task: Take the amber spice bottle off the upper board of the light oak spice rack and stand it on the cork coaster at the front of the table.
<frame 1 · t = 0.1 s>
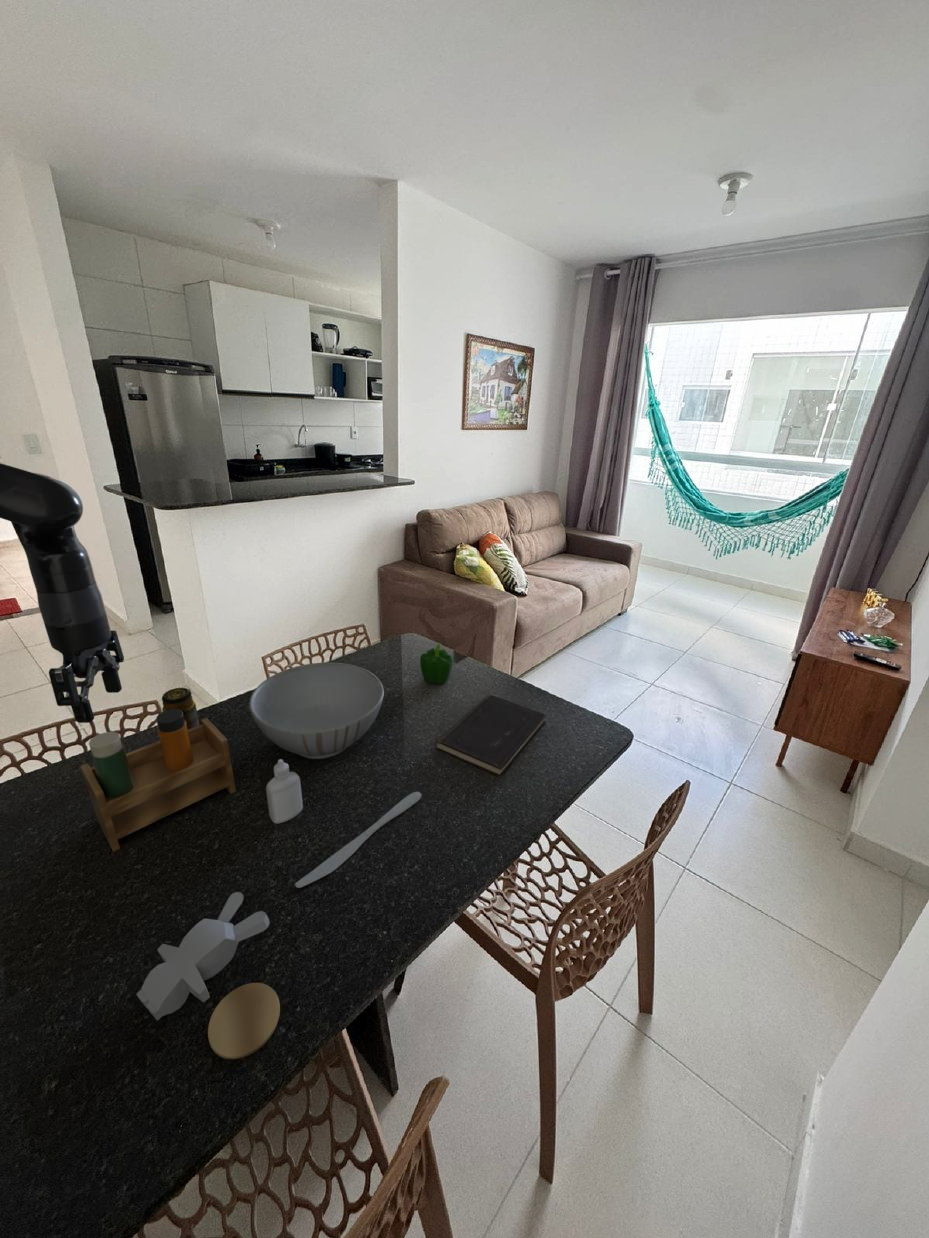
hand: (100, 705, 82), 22 cm above the table, tool pointing down, fingers open, 8 cm apart
decorative bowl: (322, 741, 111), on the table
eye dropper bottle: (287, 814, 92), on the table
bell pepper: (436, 681, 137), on the table
spice rack: (170, 805, 92), on the table
bunny figurine: (207, 965, 67), on the table
hardcover book: (492, 735, 116), on the table
condiment: (188, 744, 108), on the table
cork coaster: (245, 1019, 62), on the table
green spice bottle: (118, 788, 84), point 8 cm above the table, touching spice rack
amber spice bottle: (179, 762, 91), point 8 cm above the table, touching spice rack
butter knife: (365, 837, 88), on the table
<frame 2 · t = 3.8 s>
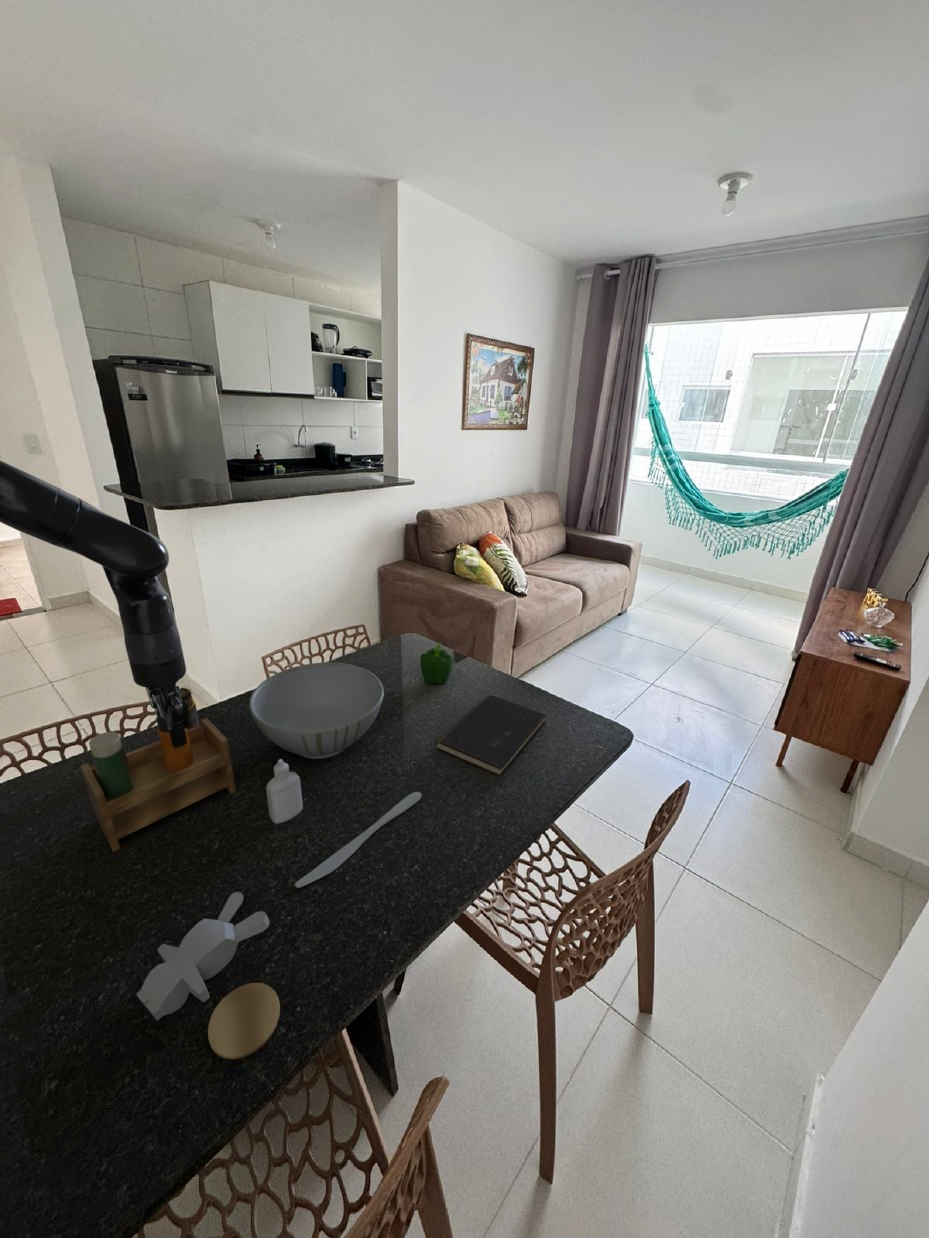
hand: (174, 738, 89), 13 cm above the table, tool pointing down, fingers closed on amber spice bottle, 4 cm apart
amber spice bottle: (179, 762, 91), point 8 cm above the table, touching gripper, spice rack
everything else where it was.
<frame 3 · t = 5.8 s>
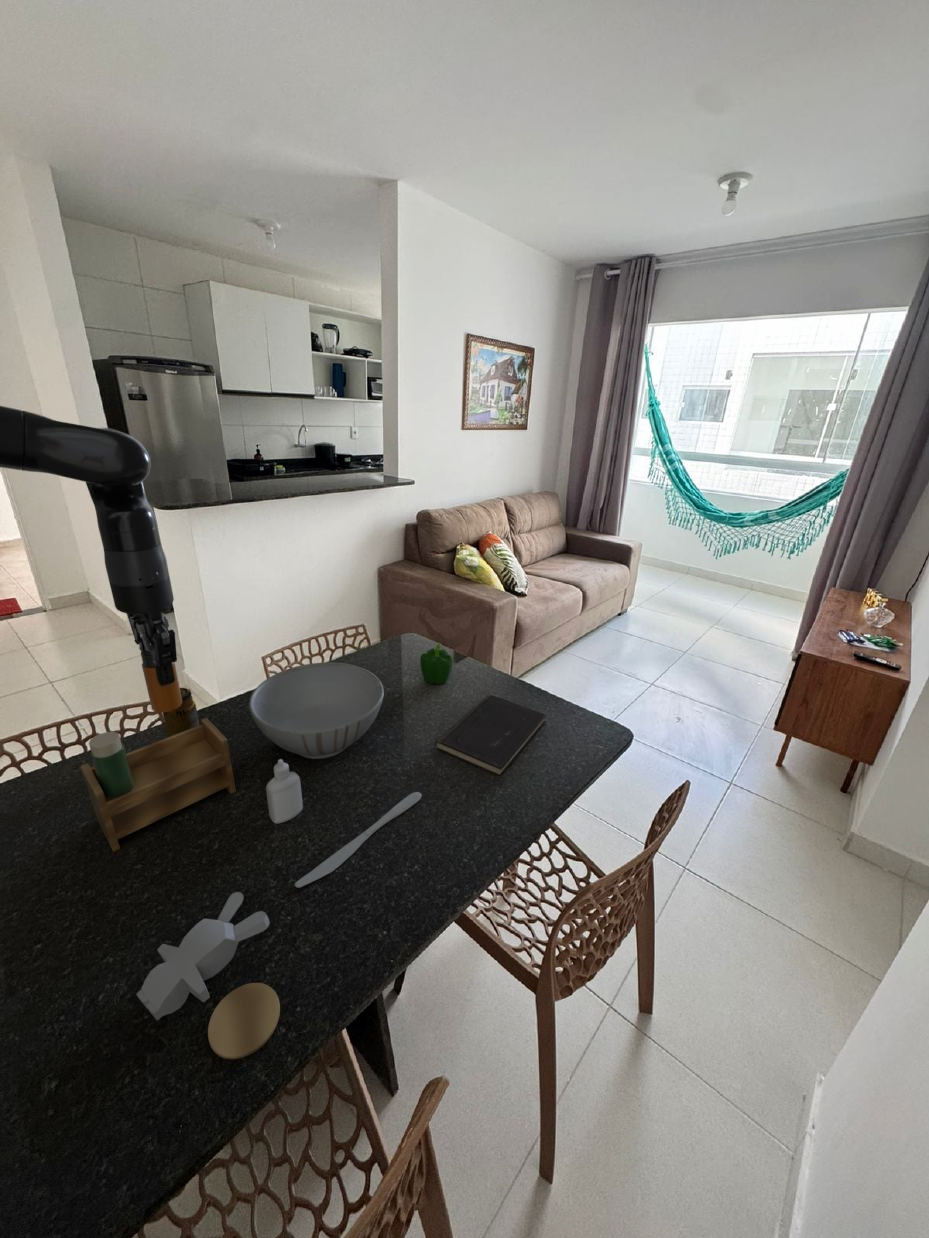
hand: (161, 676, 81), 27 cm above the table, tool pointing down, fingers closed on amber spice bottle, 4 cm apart
amber spice bottle: (167, 705, 83), point 22 cm above the table, touching gripper
everything else where it was.
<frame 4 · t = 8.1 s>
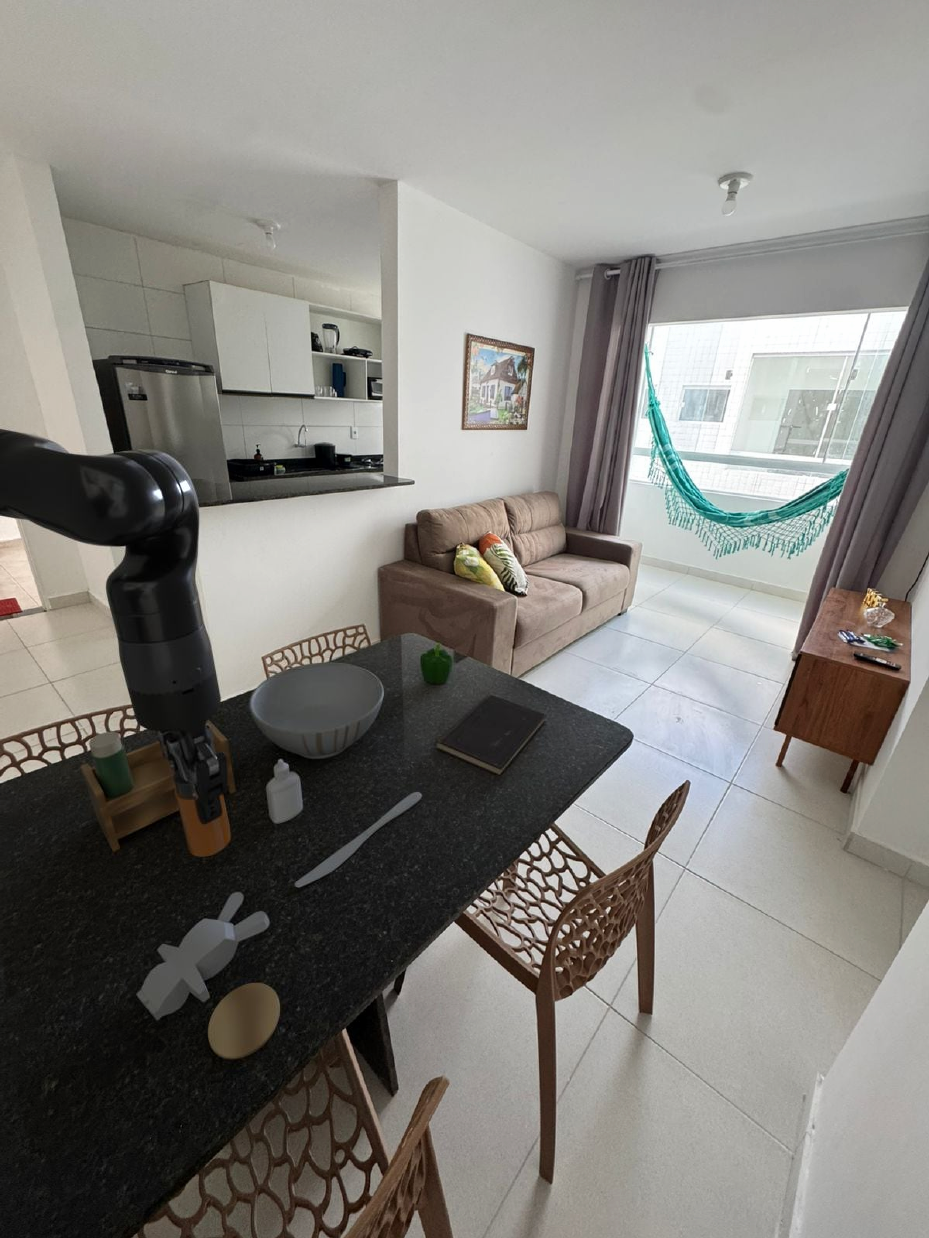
hand: (201, 805, 56), 28 cm above the table, tool pointing down, fingers closed on amber spice bottle, 4 cm apart
amber spice bottle: (210, 841, 58), point 23 cm above the table, touching gripper
everything else where it was.
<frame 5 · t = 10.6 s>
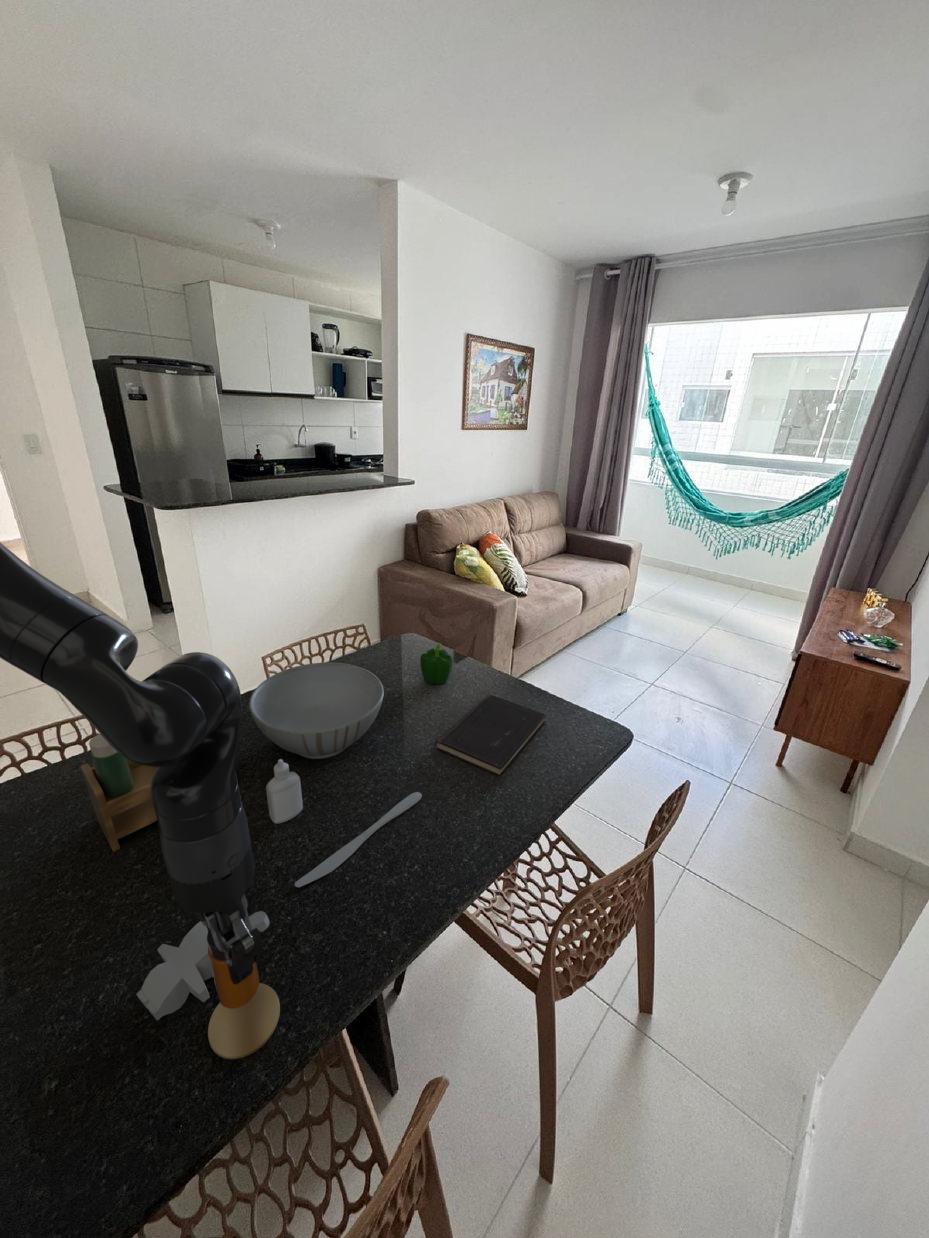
hand: (232, 959, 57), 11 cm above the table, tool pointing down, fingers closed on amber spice bottle, 4 cm apart
amber spice bottle: (239, 988, 59), point 6 cm above the table, touching gripper
everything else where it was.
when the fingers open (6 cm above the table, at t = 12.4 s): amber spice bottle stays where it is, resting on cork coaster.
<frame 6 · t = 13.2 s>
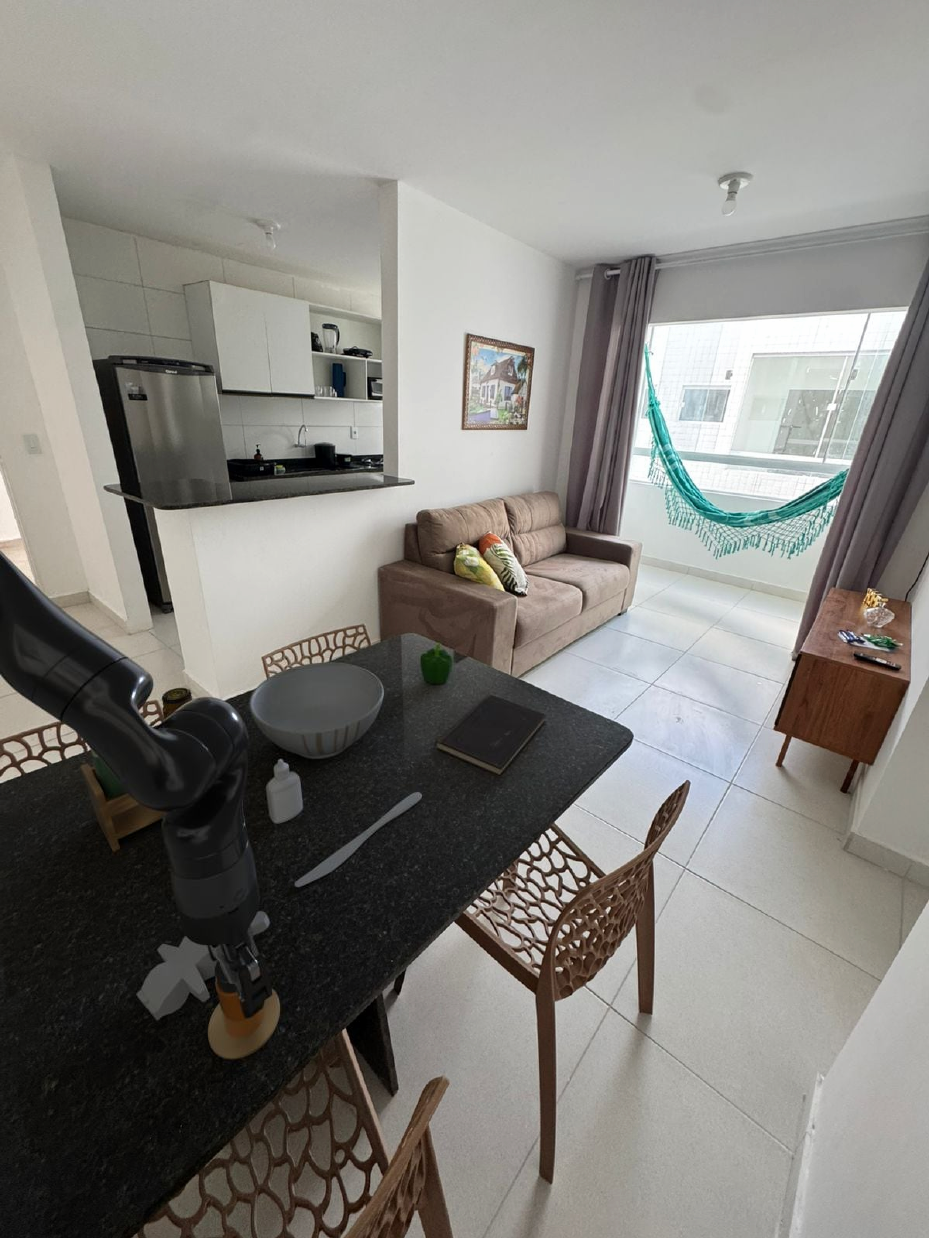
hand: (236, 981, 59), 7 cm above the table, tool pointing down, fingers open, 8 cm apart
amber spice bottle: (245, 1016, 62), resting on cork coaster
everything else where it was.
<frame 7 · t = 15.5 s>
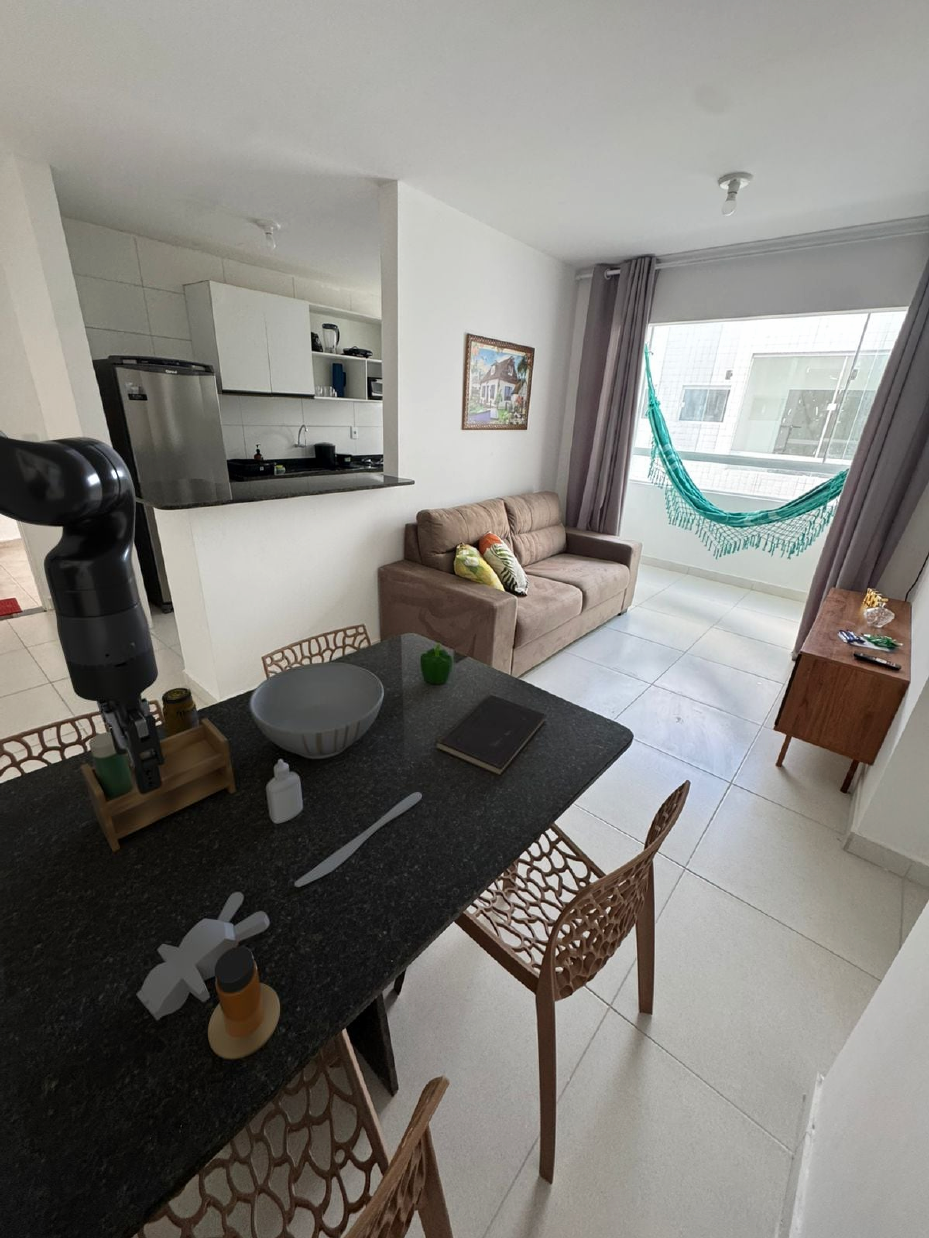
hand: (138, 769, 59), 29 cm above the table, tool pointing down, fingers open, 8 cm apart
nothing on the table moved.
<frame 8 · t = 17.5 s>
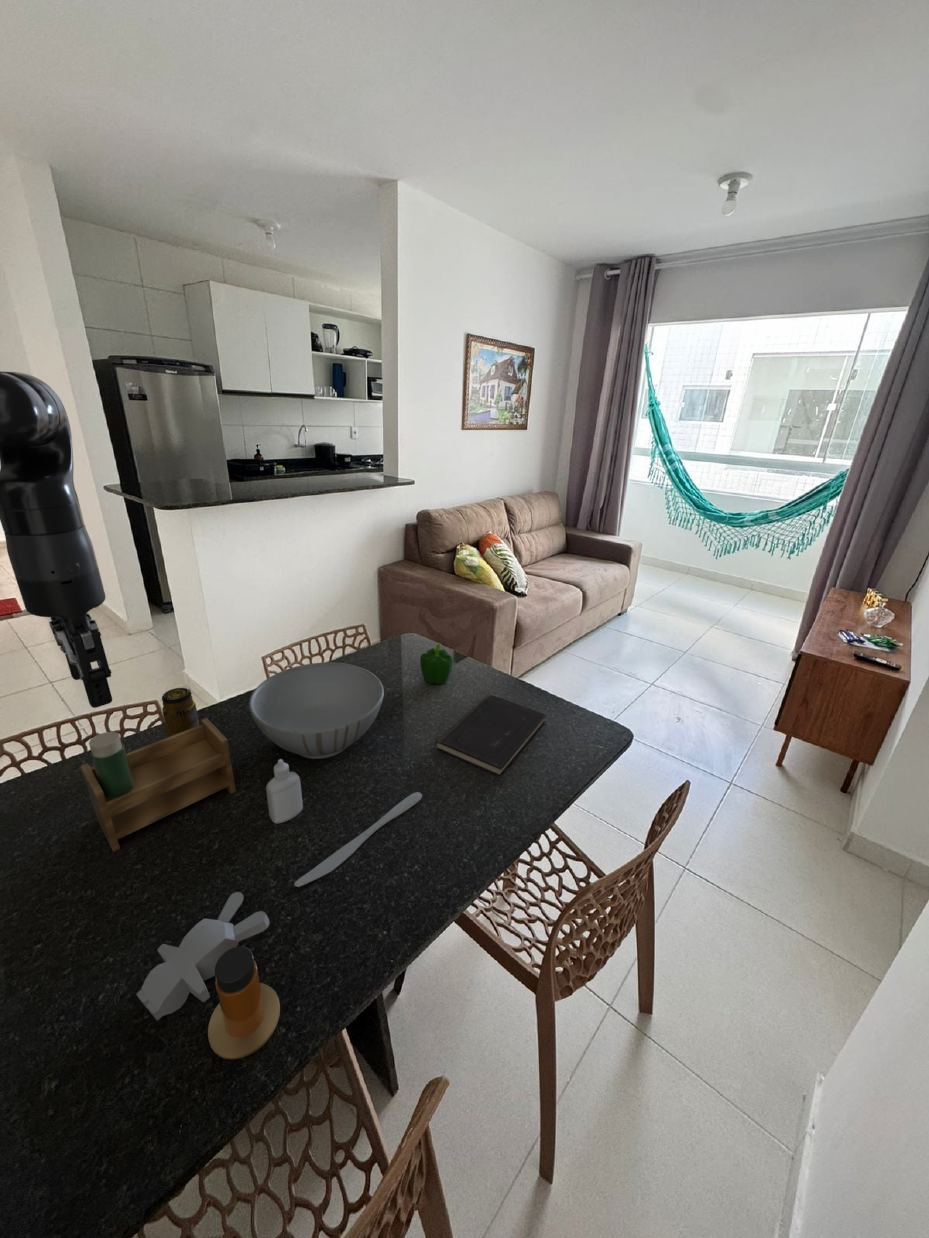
hand: (92, 690, 64), 34 cm above the table, tool pointing down, fingers open, 8 cm apart
nothing on the table moved.
at the end: amber spice bottle 0.1 cm off-centre on the cork coaster, point 0.5 cm above the cork coaster's base; amber spice bottle tilted 0°; the gripper is holding nothing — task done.
